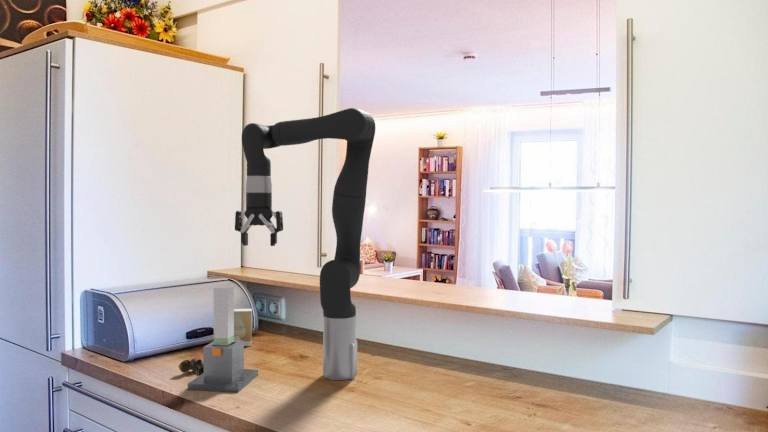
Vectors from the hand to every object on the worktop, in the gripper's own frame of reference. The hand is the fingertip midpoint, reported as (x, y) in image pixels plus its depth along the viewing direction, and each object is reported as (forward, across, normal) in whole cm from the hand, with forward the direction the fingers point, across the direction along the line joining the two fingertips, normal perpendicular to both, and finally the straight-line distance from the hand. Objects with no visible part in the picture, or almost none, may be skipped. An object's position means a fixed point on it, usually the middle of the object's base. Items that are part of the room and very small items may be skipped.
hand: (259, 245), depth 164 cm
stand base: (+36, +4, +16) cm, 40 cm away
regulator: (+36, +14, +8) cm, 40 cm away
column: (+28, +4, +16) cm, 32 cm away
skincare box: (+36, +14, -21) cm, 44 cm away
